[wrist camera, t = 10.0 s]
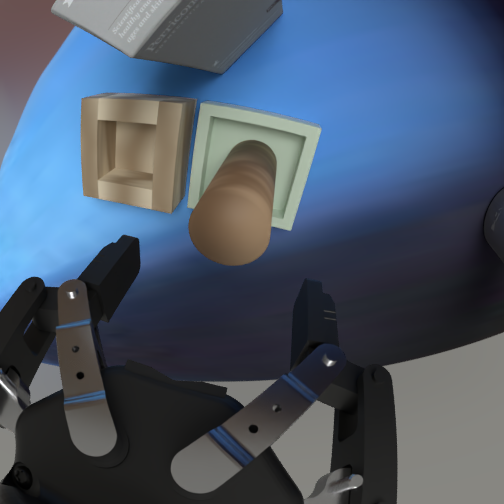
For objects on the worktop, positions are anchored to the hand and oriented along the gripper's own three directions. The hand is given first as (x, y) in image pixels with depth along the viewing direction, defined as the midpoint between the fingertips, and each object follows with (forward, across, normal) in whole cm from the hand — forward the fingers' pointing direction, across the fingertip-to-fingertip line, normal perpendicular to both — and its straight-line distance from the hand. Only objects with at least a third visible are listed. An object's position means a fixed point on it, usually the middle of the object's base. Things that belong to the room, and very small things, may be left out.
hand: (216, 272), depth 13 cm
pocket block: (+15, +12, 0) cm, 19 cm away
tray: (+16, 0, 0) cm, 16 cm away
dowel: (+15, 0, 0) cm, 15 cm away
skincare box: (+16, +5, -14) cm, 21 cm away
